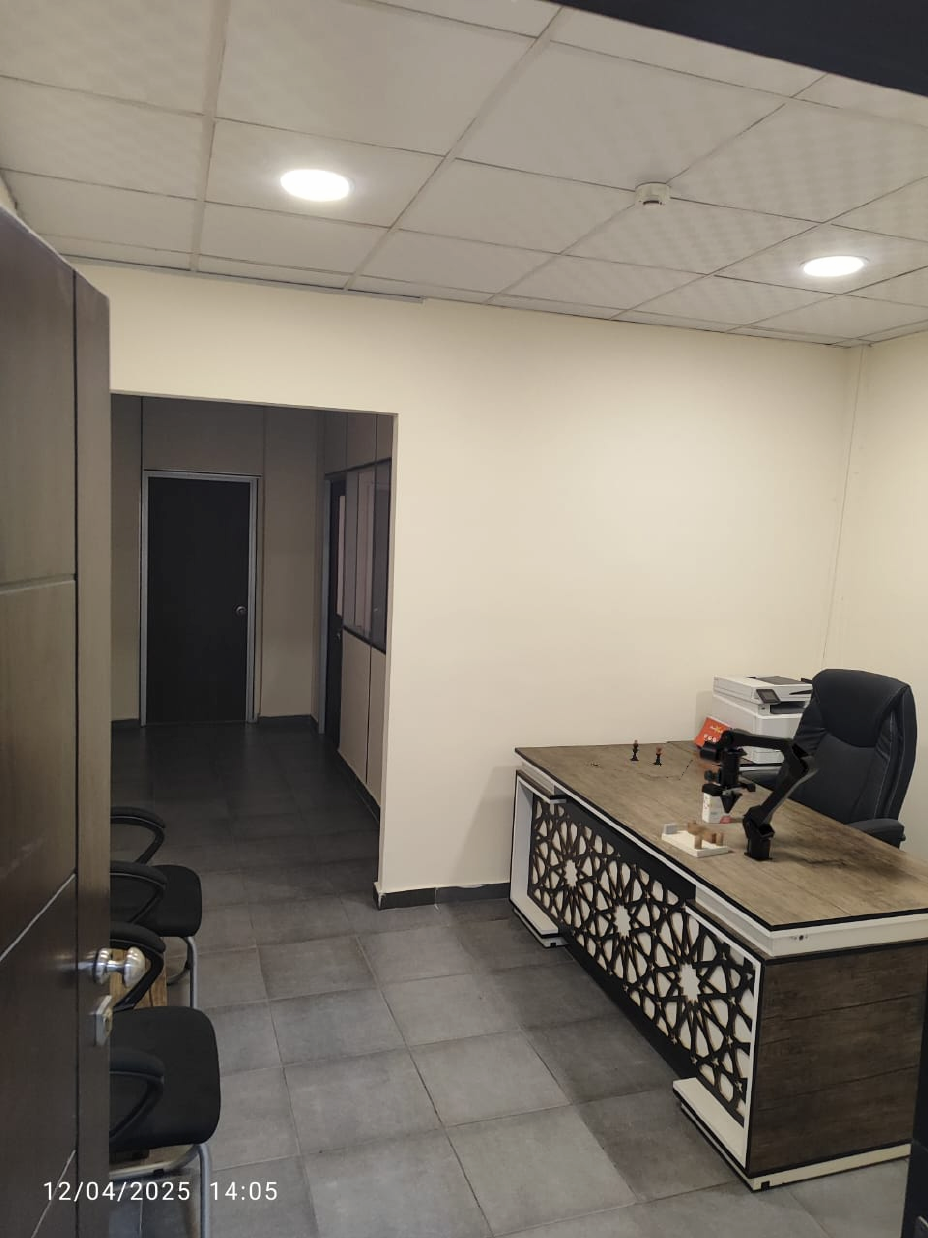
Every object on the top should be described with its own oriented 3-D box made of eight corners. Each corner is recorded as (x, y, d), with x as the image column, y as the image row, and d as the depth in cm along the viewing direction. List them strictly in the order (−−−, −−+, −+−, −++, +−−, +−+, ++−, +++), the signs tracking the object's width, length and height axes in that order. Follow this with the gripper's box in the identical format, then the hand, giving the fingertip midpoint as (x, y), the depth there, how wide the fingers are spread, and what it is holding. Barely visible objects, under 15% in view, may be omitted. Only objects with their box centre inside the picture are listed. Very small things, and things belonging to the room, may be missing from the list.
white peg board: (727, 852, 275) (729, 834, 275) (696, 857, 269) (698, 839, 269) (691, 835, 290) (693, 818, 290) (661, 839, 284) (662, 821, 284)
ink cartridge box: (723, 818, 310) (726, 779, 309) (729, 823, 305) (733, 783, 304) (701, 819, 308) (704, 779, 307) (707, 823, 304) (711, 783, 302)
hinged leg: (687, 831, 287) (688, 820, 287) (692, 830, 288) (693, 819, 288) (711, 843, 277) (712, 831, 276) (717, 842, 278) (718, 830, 277)
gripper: (734, 758, 291) (730, 803, 293) (691, 762, 283) (688, 808, 284) (758, 767, 281) (754, 813, 283) (715, 771, 273) (711, 819, 274)
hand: (726, 813), depth 281 cm, fingers closed
